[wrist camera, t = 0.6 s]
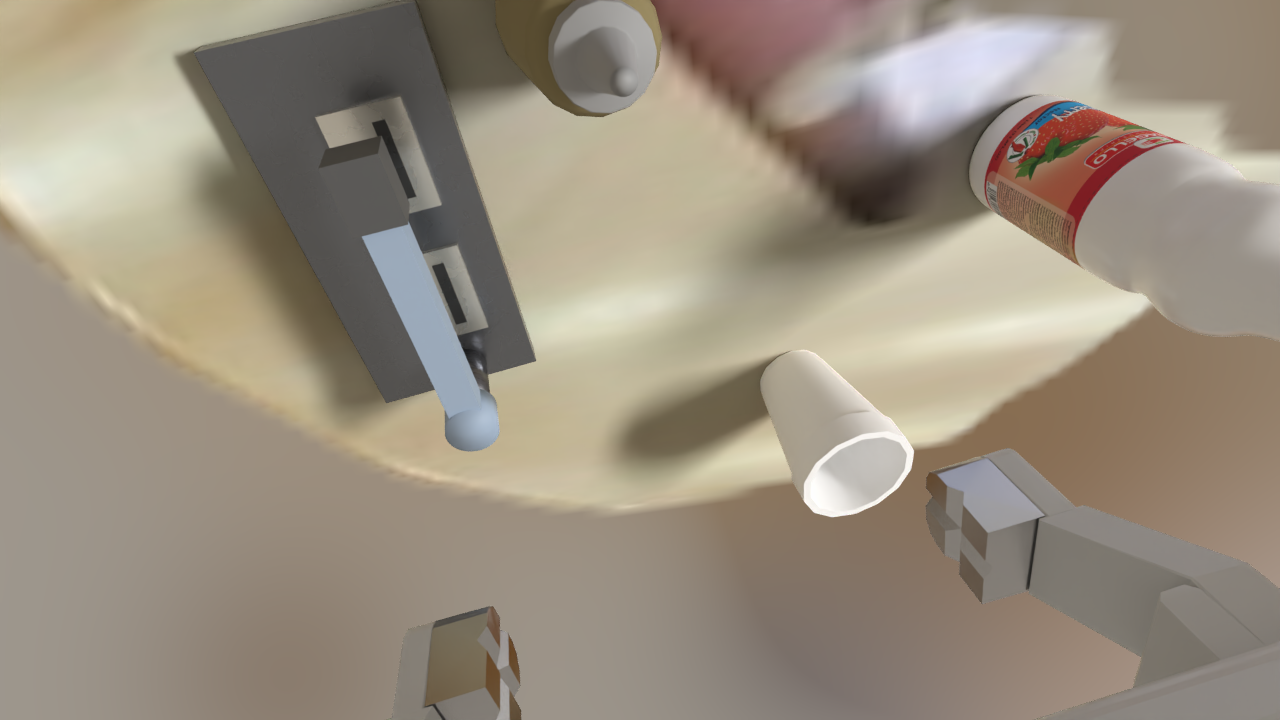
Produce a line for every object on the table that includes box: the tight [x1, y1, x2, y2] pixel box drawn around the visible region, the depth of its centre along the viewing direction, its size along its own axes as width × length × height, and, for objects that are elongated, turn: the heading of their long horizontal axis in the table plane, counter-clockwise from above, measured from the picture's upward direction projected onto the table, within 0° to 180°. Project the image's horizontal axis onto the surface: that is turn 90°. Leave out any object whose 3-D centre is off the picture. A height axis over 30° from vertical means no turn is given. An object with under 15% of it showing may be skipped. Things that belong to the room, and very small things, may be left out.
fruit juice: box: [969, 95, 1280, 341], centre depth 43 cm, size 9×9×28 cm
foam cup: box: [760, 350, 914, 517], centre depth 58 cm, size 10×9×13 cm
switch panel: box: [194, 0, 536, 403], centre depth 43 cm, size 26×12×6 cm, turn 10°
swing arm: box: [318, 136, 499, 451], centre depth 41 cm, size 21×4×3 cm, turn 10°
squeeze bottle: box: [495, 0, 662, 117], centre depth 33 cm, size 8×8×18 cm
